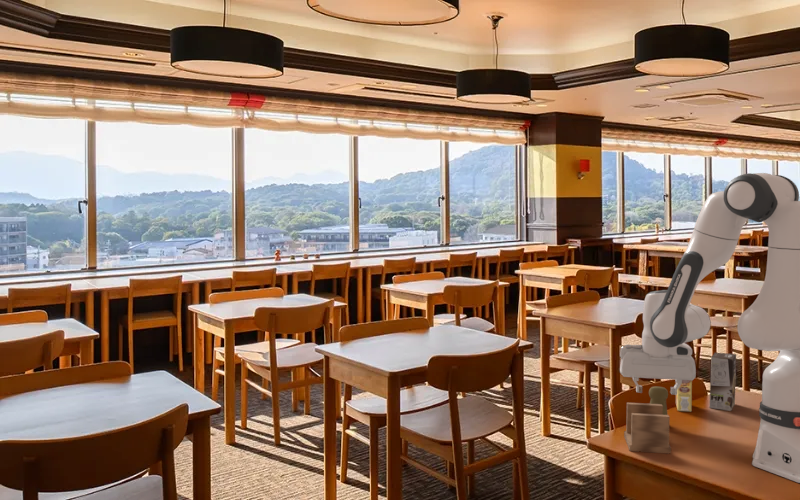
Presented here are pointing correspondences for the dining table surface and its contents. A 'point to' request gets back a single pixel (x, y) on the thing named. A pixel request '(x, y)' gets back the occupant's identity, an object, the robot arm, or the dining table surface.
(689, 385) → the candy box
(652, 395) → the cork
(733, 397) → the coffee box
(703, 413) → the dining table surface
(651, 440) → the caddy
